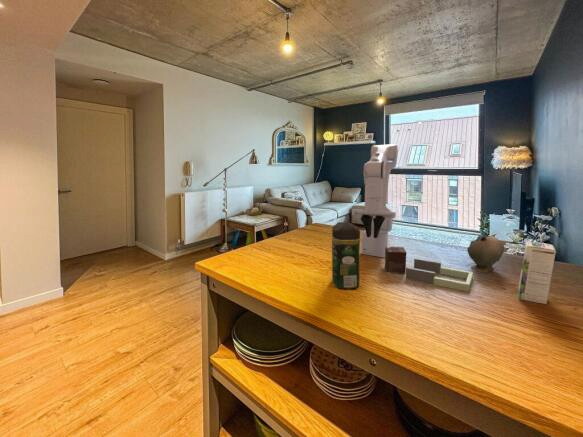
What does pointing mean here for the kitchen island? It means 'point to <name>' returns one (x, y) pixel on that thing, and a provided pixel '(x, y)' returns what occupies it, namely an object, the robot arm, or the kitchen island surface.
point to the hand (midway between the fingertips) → (372, 237)
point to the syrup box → (536, 272)
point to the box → (395, 260)
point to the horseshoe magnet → (427, 270)
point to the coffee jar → (345, 255)
